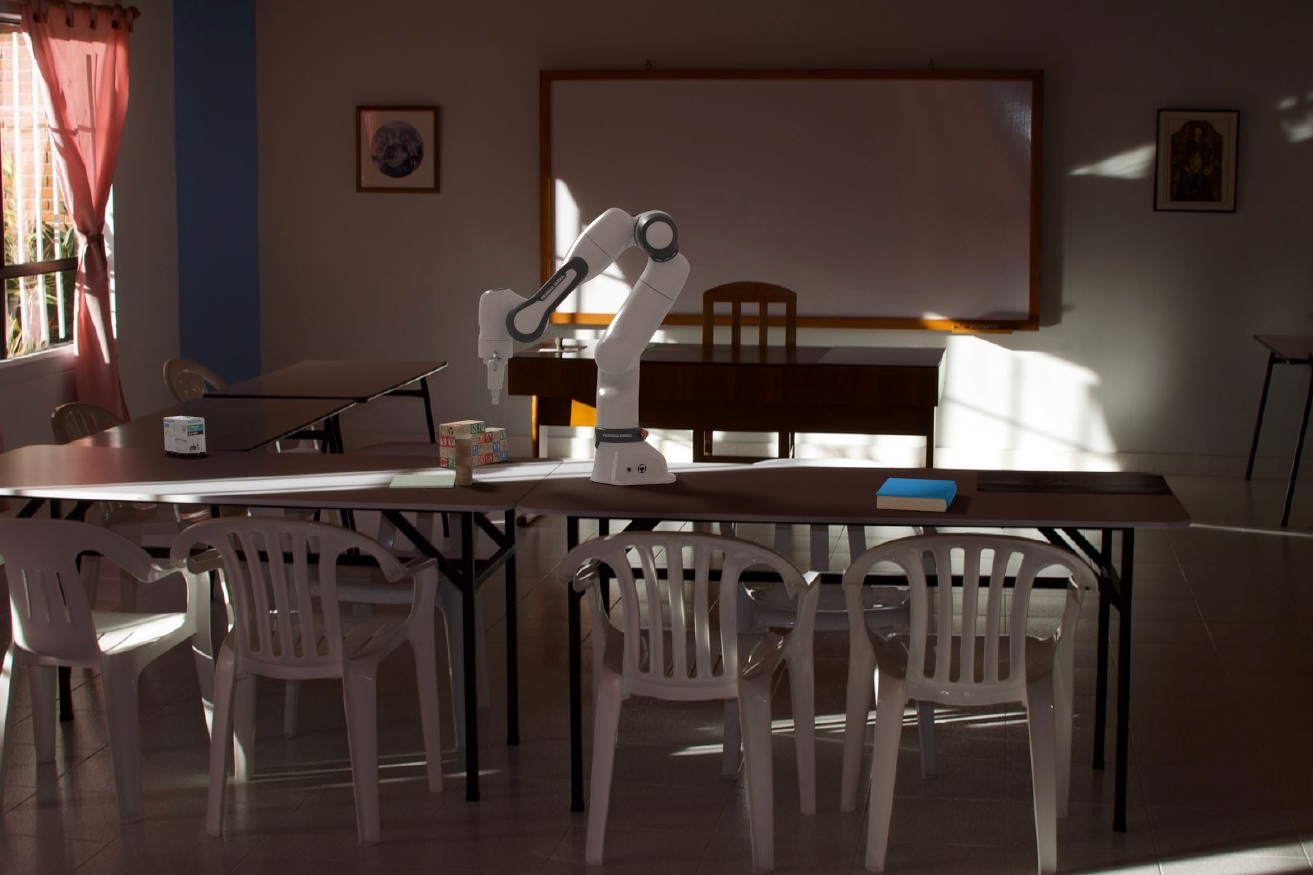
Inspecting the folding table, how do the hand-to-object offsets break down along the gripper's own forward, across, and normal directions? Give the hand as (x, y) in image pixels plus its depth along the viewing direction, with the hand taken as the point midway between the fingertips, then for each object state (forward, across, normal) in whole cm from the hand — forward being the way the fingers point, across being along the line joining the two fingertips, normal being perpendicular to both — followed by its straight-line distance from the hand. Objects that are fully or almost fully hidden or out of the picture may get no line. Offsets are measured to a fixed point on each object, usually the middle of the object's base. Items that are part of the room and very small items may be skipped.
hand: (495, 404), depth 380 cm
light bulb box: (+22, +59, +92) cm, 111 cm away
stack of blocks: (+21, +32, +6) cm, 39 cm away
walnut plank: (+21, 0, +8) cm, 22 cm away
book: (+20, -37, -102) cm, 111 cm away
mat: (+21, 0, +18) cm, 28 cm away
